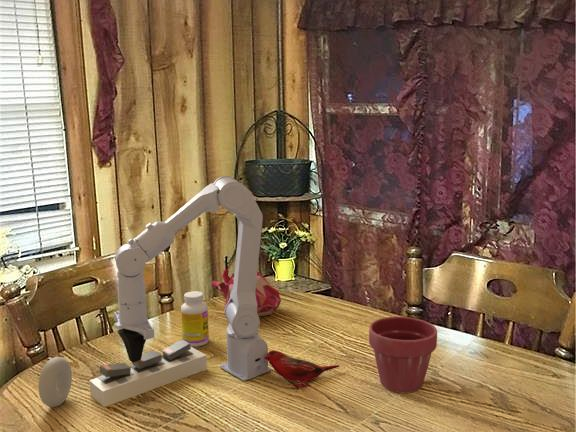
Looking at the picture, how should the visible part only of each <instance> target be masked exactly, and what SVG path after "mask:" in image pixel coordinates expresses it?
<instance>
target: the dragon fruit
mask: <svg viewBox="0 0 576 432" xmlns="http://www.w3.org/2000/svg"><path fill="white" fill-rule="evenodd" d="M229 273H230V271H229V269H228V268H225V269H223V271H222V275H221V277H222V279H223V282H222V281H217V280H213V281H211V287H212V288H213V289H214V290H218V291H219V292H221V293H222V296H223V298H224V299H225V300H224V301H225V303H224V306H223V308H224V310H225V307H226V305H227V303H228V301H229V299H230V293H231V291H232V289H233V284H234V273H235V272H234V273H233V272H232V273H231V276H229ZM255 295H256V301H257V314H258V317H259V318H260V317H265V316H269V315H272V314H273V313H274V312H275V311H276V310H277V309H278V308H279V307H280V305H281V302H282V300H281V295H280V292H279V290H278V289H276V288H274V287H273V286H272V285H271V284H270V283H269V281H267V279H266V278H265V277H264V276H263V274H261V272H259V270H257V280H256V290H255Z"/></svg>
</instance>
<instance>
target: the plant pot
mask: <svg viewBox="0 0 576 432" xmlns="http://www.w3.org/2000/svg"><path fill="white" fill-rule="evenodd" d="M368 343H369V345H370V347H371V348H372V349H373V352H374V359H375V364H376V367H377V372H378V376H379V381H380V384H381V385H382V386H383V388H385V389H387V390H389V391H391V392H394V393H395V392H396V393H403V394H404V393H405V394H407V393H413V392H417V391H419V390H421V389H422V387H423V385H424V382H425V378H426V375H427V371H428V368H429V364H430V360H431V355H432V353H433V352H434V351H435V350H436V349H437V346H438V345H437V344H438V330H437V327H436V326H435V325H433V324H432V323H430V322H428V321H426V320H423V319H419V318H415V317H408V316H388V317H381V318H379V319H376V320H374V321H372V323H371V324H370V325H369V330H368Z"/></svg>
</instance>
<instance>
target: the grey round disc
mask: <svg viewBox="0 0 576 432" xmlns="http://www.w3.org/2000/svg"><path fill="white" fill-rule="evenodd" d="M72 376H73V372H72V367H71V365H70V363H69V361H68V360H67V359H66V358H64V357H62V356H61V357H60V356H55V357H52V358H50V359H49V360H47V362H45V364H44V365H43V367H42V369H41V370H40V375H39V377H38V378H39V379H38V395H39V399H41V402H42V403H43V404H44V405H45V406H46V407H50V408H54V407H55V408H56V407H59V406H60V405H62V404H63V403H64V402H65V400H66V399H67V398H68V396H69V393H70V391H71V388H72V381H73V377H72Z"/></svg>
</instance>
